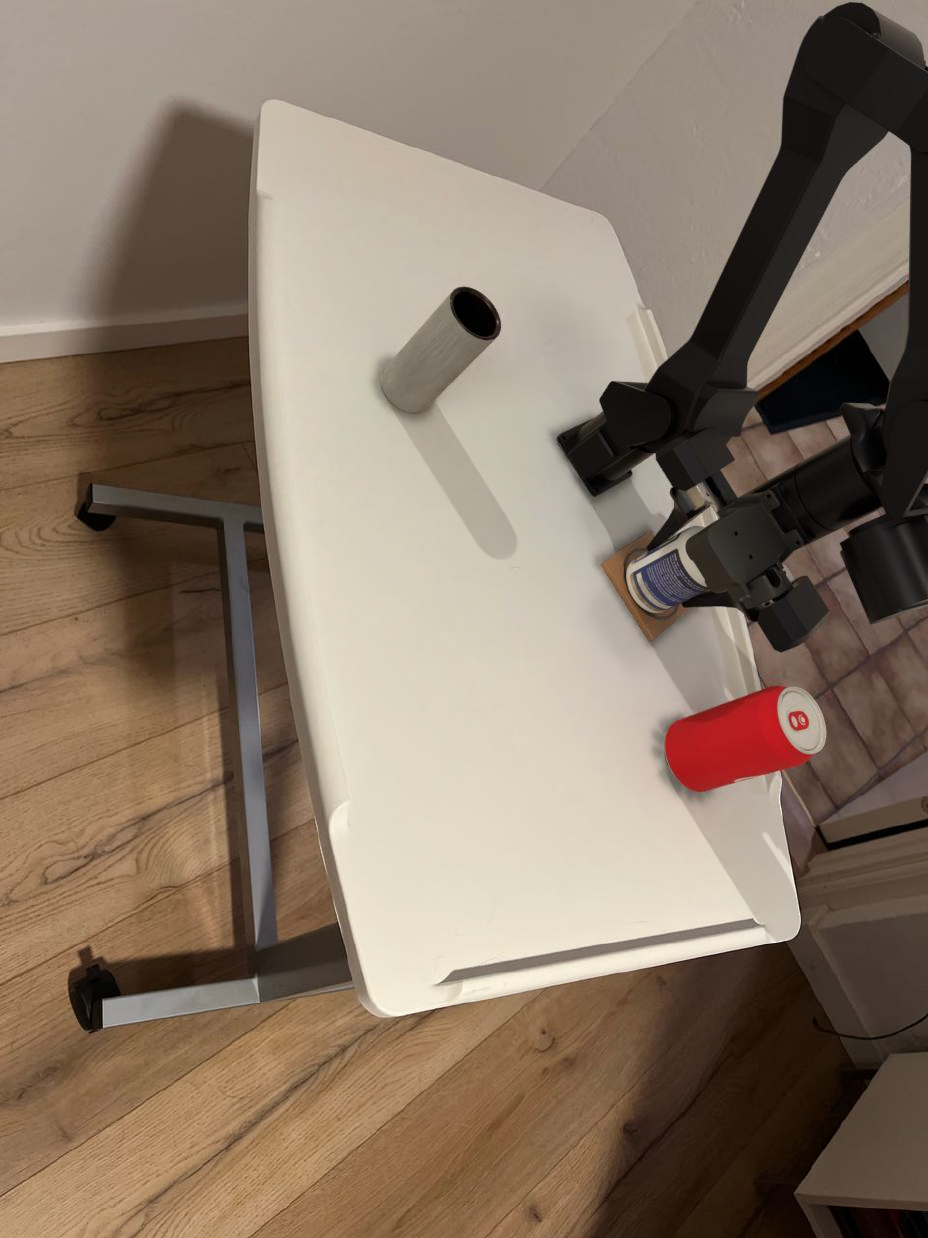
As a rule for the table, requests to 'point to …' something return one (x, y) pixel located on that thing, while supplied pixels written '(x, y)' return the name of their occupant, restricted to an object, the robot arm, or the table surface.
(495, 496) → the table surface
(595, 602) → the table surface
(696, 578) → the pill bottle
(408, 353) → the grey hollow cylinder
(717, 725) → the beverage can
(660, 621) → the square brown coaster
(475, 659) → the table surface
